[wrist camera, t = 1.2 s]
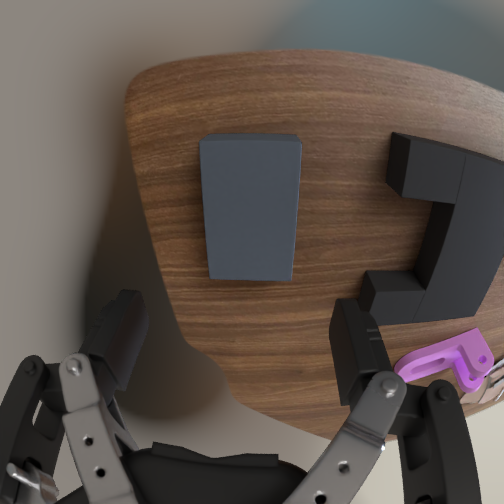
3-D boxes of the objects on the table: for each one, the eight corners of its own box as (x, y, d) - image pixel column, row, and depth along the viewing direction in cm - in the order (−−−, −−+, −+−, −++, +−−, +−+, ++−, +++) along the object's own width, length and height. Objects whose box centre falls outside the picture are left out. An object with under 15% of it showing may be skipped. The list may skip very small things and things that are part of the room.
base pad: (392, 131, 17) (410, 139, 14) (509, 163, 17) (529, 174, 14) (356, 304, 26) (363, 326, 23) (462, 298, 25) (474, 316, 22)
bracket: (477, 327, 28) (498, 365, 22) (467, 351, 31) (484, 387, 25) (396, 355, 30) (411, 401, 24) (392, 378, 33) (403, 419, 27)
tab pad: (215, 257, 23) (209, 279, 21) (208, 134, 18) (198, 141, 15) (288, 258, 23) (291, 281, 21) (296, 134, 18) (302, 141, 15)
